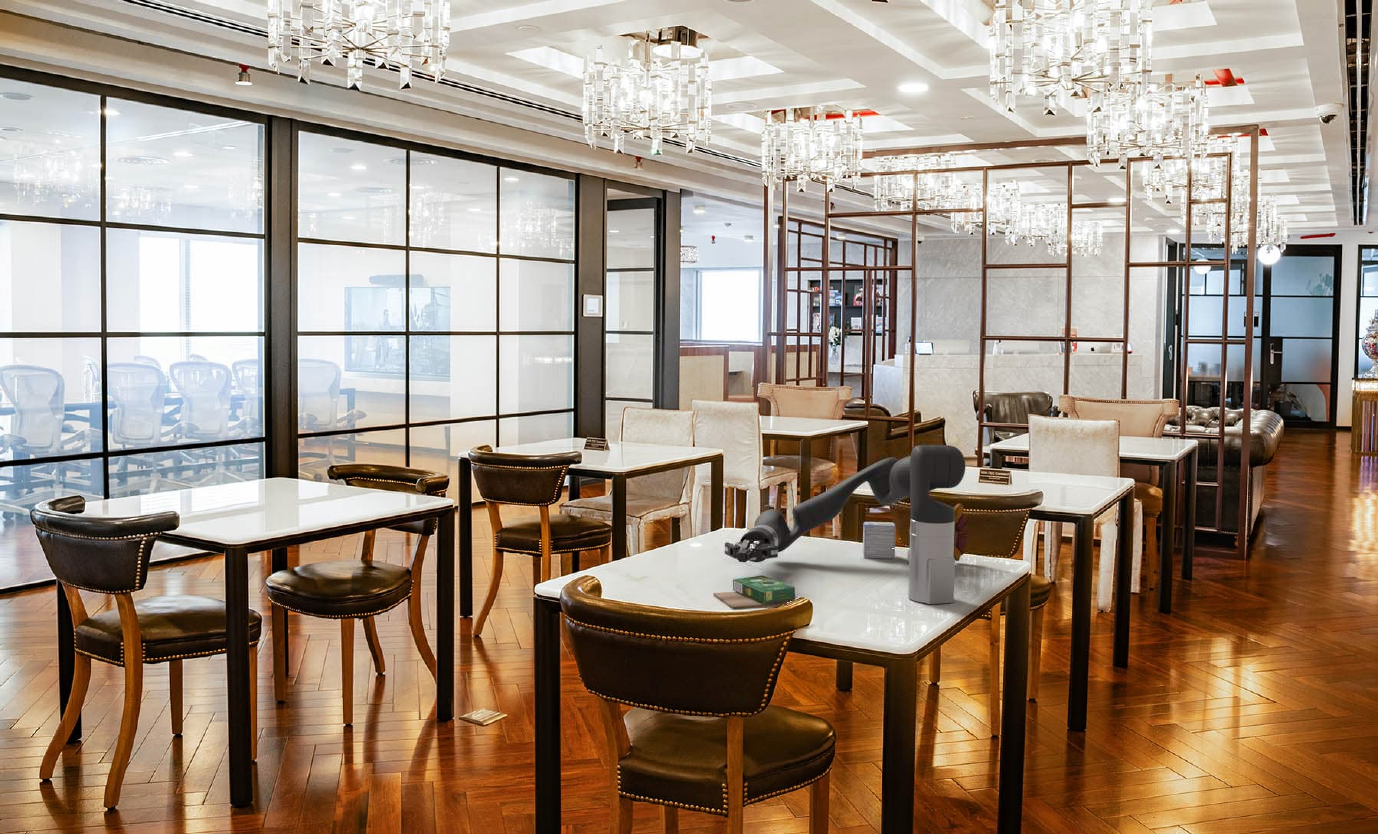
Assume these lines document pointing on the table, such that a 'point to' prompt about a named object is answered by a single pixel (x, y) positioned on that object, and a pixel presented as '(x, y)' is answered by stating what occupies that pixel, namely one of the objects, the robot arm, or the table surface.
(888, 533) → the medicine box
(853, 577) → the table surface
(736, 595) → the board
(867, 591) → the table surface
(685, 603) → the table surface
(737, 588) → the coffee box
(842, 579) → the table surface
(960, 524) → the mug
